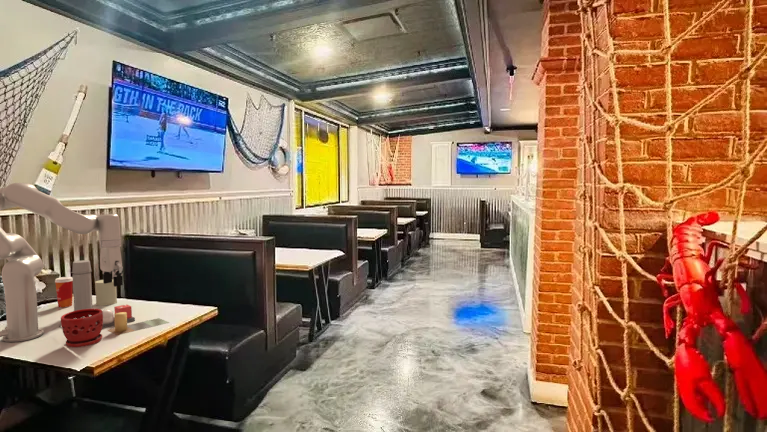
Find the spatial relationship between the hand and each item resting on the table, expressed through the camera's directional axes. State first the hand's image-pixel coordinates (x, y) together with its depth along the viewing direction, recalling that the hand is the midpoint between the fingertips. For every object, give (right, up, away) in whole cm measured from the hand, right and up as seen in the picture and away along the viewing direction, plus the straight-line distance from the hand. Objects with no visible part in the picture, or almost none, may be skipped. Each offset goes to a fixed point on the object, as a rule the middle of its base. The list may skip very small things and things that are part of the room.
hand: (113, 284), depth 184 cm
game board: (+9, -19, +3) cm, 21 cm away
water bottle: (-27, -18, +21) cm, 38 cm away
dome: (-6, -18, +5) cm, 20 cm away
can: (-28, -16, +40) cm, 52 cm away
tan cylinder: (+5, -19, -3) cm, 19 cm away
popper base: (-4, -18, +7) cm, 20 cm away
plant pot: (-1, -20, -16) cm, 26 cm away
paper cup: (-45, -16, +35) cm, 60 cm away
